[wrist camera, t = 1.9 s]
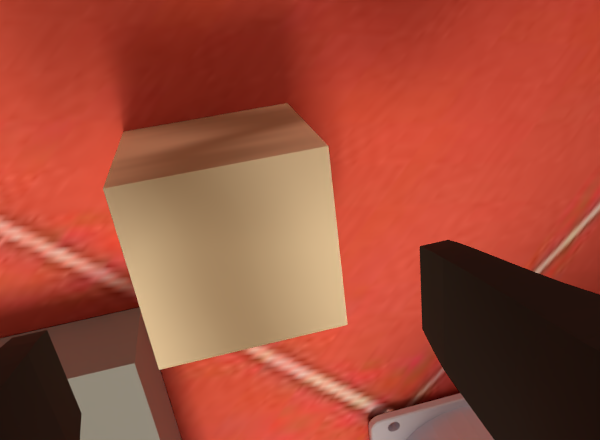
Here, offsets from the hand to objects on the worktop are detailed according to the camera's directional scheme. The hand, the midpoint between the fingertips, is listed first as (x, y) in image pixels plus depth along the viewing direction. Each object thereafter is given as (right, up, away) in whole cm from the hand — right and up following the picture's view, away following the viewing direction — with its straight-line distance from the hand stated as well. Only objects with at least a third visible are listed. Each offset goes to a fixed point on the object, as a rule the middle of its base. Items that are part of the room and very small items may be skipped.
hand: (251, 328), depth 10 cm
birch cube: (-2, +3, +7) cm, 8 cm away
